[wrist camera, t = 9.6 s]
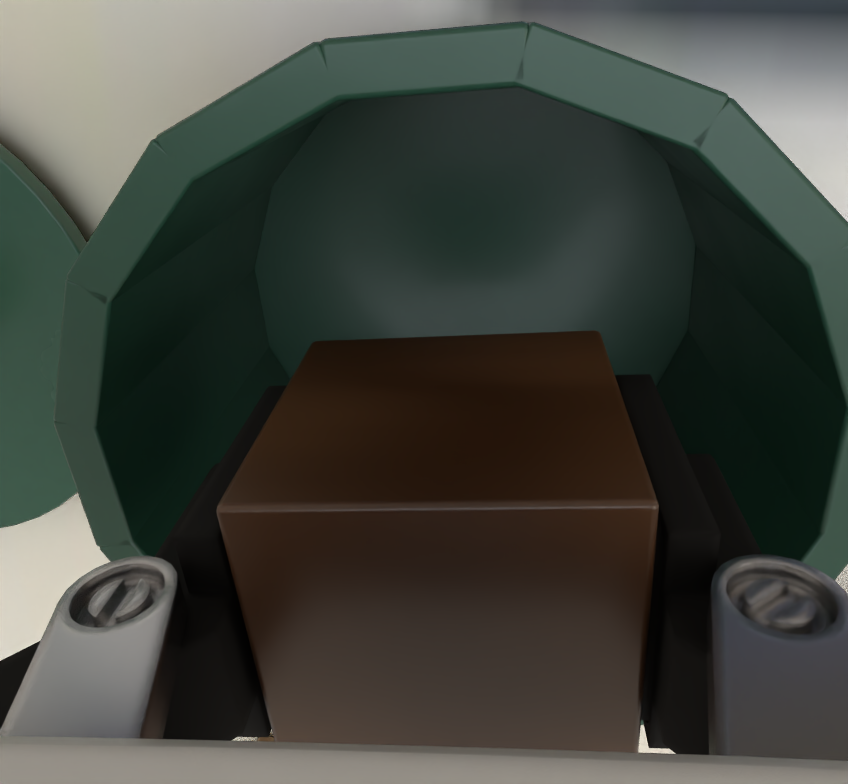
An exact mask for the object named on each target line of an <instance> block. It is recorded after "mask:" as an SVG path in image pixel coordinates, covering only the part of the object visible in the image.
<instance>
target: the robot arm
mask: <svg viewBox="0 0 848 784" xmlns="http://www.w3.org/2000/svg"><path fill="white" fill-rule="evenodd" d="M615 378H616V381H617V383H618V386H619V389H620V392H621V395H622V398H623V401H624V404H625V407H626V410H627V413H628V416H629V419H630V422H631V424H632V427H633V430H634V433H635V436H636V439H637V442H638V445H639V448H640V451H641V454H642V457H643V460H644V463H645V465H646V468H647V471H648V474H649V477H650V480H651V483H652V486H653V489H654V492H655V495H656V498H657V501H658V504H659V513H658V525H657V537H656V548H655V560H654V572H653V584H652V596H651V607H650V619H649V631H648V643H647V655H646V666H645V678H644V690H643V702H642V714H641V721H643V722H644V727H645V732H646V736H647V741H648V746H649V748H669V749H671V750H672V751H673V752H675V753H676V754H661V753H631V752H602V751H573V750H543V749H513V748H479V747H445V746H411V745H376V744H339V743H302V742H266V741H231V740H233V739H234V738H236V737H269V735H270V732H271V725H270V721H269V717H268V713H267V709H266V705H265V701H264V697H263V693H262V689H261V685H260V681H259V678H258V674H257V670H256V666H255V662H254V658H253V654H252V650H251V646H250V642H249V638H248V634H247V630H246V626H245V623H244V619H243V615H242V611H241V607H240V603H239V599H238V595H237V591H236V587H235V583H234V579H233V575H232V572H231V568H230V564H229V560H228V556H227V552H226V548H225V544H224V540H223V536H222V532H221V528H220V524H219V521H218V517H217V506H218V503H219V502H220V500H221V498H222V497H223V495H224V493H225V491H226V490H227V488H228V486H229V485H230V483H231V481H232V479H233V478H234V476H235V474H236V472H237V471H238V469H239V467H240V466H241V464H242V462H243V460H244V459H245V457H246V455H247V454H248V452H249V450H250V448H251V447H252V445H253V443H254V442H255V440H256V438H257V436H258V435H259V433H260V431H261V430H262V428H263V426H264V424H265V423H266V421H267V419H268V418H269V416H270V414H271V412H272V411H273V409H274V407H275V405H276V404H277V402H278V400H279V399H280V397H281V395H282V393H283V392H284V390H285V388H286V387H287V385H285V386H269V387H268V388H267V389H266V390H265V392H264V394H263V395H262V397H261V398H260V400H259V402H258V403H257V405H256V406H255V408H254V409H253V411H252V413H251V414H250V416H249V417H248V419H247V420H246V422H245V424H244V425H243V427H242V428H241V430H240V431H239V433H238V435H237V436H236V438H235V439H234V441H233V443H232V444H231V446H230V447H229V449H228V450H227V452H226V454H225V455H224V457H223V458H222V460H221V461H220V463H217V464H215V465H214V466H213V467H212V468H211V470H210V471H209V473H208V474H207V476H206V477H205V479H204V481H203V482H202V484H201V485H200V487H199V488H198V490H197V491H196V493H195V494H194V496H193V498H192V499H191V501H190V502H189V504H188V505H187V507H186V508H185V510H184V512H183V513H182V515H181V516H180V518H179V519H178V521H177V522H176V524H175V526H174V527H173V529H172V530H171V532H170V533H169V535H168V536H167V538H166V539H165V541H164V543H163V544H162V546H161V547H160V549H159V550H158V552H157V553H156V555H155V557H152V556H133V557H127V558H123V559H119V560H115V561H112V562H109V563H107V564H104V565H102V566H100V567H97V568H95V569H93V570H92V571H90V572H89V573H87V574H85V575H84V576H82V577H81V578H79V579H78V580H77V581H76V582H75V583H74V584H73V585H71V586H70V587H69V588H68V589H67V590H66V591H65V593H64V594H63V596H62V597H61V599H60V600H59V602H58V604H57V606H56V608H55V610H54V613H53V615H52V617H51V619H50V621H49V624H48V626H47V628H46V630H45V632H44V635H43V637H42V639H41V641H39V642H37V643H35V644H33V645H31V646H29V647H27V648H25V649H23V650H21V651H19V652H17V653H15V654H13V655H11V656H9V657H7V658H5V659H3V660H1V661H0V784H848V594H847V593H846V592H845V591H844V590H843V589H842V588H841V587H840V586H839V584H838V583H837V582H836V581H835V580H834V579H832V578H831V577H829V576H827V575H826V574H824V573H823V572H821V571H820V570H818V569H817V568H815V567H812V566H810V565H807V564H805V563H802V562H800V561H797V560H795V559H790V558H786V557H781V556H777V555H764V554H762V553H761V551H760V549H759V547H758V545H757V543H756V541H755V539H754V537H753V535H752V533H751V531H750V529H749V527H748V525H747V523H746V521H745V519H744V517H743V515H742V513H741V511H740V509H739V507H738V505H737V503H736V501H735V499H734V497H733V495H732V493H731V491H730V489H729V487H728V485H727V483H726V481H725V479H724V477H723V475H722V473H721V471H720V469H719V467H718V465H717V463H716V461H715V460H714V458H713V457H712V455H710V454H685V451H684V449H683V447H682V445H681V442H680V440H679V438H678V436H677V433H676V431H675V429H674V427H673V424H672V422H671V420H670V417H669V415H668V413H667V411H666V408H665V406H664V404H663V402H662V399H661V397H660V395H659V393H658V390H657V388H656V386H655V384H654V381H653V379H652V377H651V375H650V374H641V375H615Z"/></svg>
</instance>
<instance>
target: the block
mask: <svg viewBox="0 0 848 784" xmlns="http://www.w3.org/2000/svg"><path fill="white" fill-rule="evenodd" d="M658 513H659V504H658V501H657V498H656V495H655V492H654V489H653V486H652V483H651V480H650V477H649V474H648V471H647V468H646V465H645V463H644V460H643V457H642V454H641V451H640V448H639V445H638V442H637V439H636V436H635V433H634V430H633V427H632V424H631V422H630V419H629V416H628V413H627V410H626V407H625V404H624V401H623V398H622V395H621V392H620V389H619V386H618V383H617V381H616V378H615V375H614V372H613V369H612V366H611V363H610V360H609V357H608V354H607V351H606V348H605V345H604V343H603V340H602V337H601V334H600V332H598V331H595V330H591V331H565V332H539V333H513V334H486V335H460V336H434V337H408V338H382V339H356V340H329V341H315V342H313V343H312V344H311V345H310V347H309V349H308V351H307V352H306V354H305V356H304V357H303V359H302V361H301V363H300V364H299V366H298V368H297V369H296V371H295V373H294V375H293V376H292V378H291V380H290V381H289V383H288V385H287V387H286V388H285V390H284V392H283V393H282V395H281V397H280V399H279V400H278V402H277V404H276V405H275V407H274V409H273V411H272V412H271V414H270V416H269V418H268V419H267V421H266V423H265V424H264V426H263V428H262V430H261V431H260V433H259V435H258V436H257V438H256V440H255V442H254V443H253V445H252V447H251V448H250V450H249V452H248V454H247V455H246V457H245V459H244V460H243V462H242V464H241V466H240V467H239V469H238V471H237V472H236V474H235V476H234V478H233V479H232V481H231V483H230V485H229V486H228V488H227V490H226V491H225V493H224V495H223V497H222V498H221V500H220V502H219V503H218V506H217V517H218V521H219V524H220V528H221V532H222V536H223V540H224V544H225V548H226V552H227V556H228V560H229V564H230V568H231V572H232V575H233V579H234V583H235V587H236V591H237V595H238V599H239V603H240V607H241V611H242V615H243V619H244V623H245V626H246V630H247V634H248V638H249V642H250V646H251V650H252V654H253V658H254V662H255V666H256V670H257V674H258V678H259V681H260V685H261V689H262V693H263V697H264V701H265V705H266V709H267V713H268V717H269V721H270V725H271V729H272V732H273V736H274V740H275V742H302V743H339V744H376V745H411V746H445V747H479V748H513V749H543V750H573V751H602V752H631V753H638V749H639V737H640V725H641V714H642V702H643V690H644V678H645V666H646V655H647V643H648V631H649V619H650V607H651V596H652V584H653V572H654V560H655V548H656V537H657V525H658Z"/></svg>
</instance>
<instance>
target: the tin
mask: <svg viewBox="0 0 848 784" xmlns="http://www.w3.org/2000/svg"><path fill="white" fill-rule="evenodd" d="M591 330H595V331H598V332H600V334H601V337H602V340H603V343H604V345H605V348H606V351H607V354H608V357H609V360H610V363H611V366H612V369H613V372H614V375H641V374H650V375H651V377H652V379H653V381H654V384H655V386H656V388H657V390H658V393H659V395H660V397H661V399H662V402H663V404H664V406H665V408H666V411H667V413H668V415H669V417H670V420H671V422H672V424H673V427H674V429H675V431H676V433H677V436H678V438H679V440H680V442H681V445H682V447H683V449H684V451H685V454H710V455H712V457H713V458H714V460H715V461H716V463H717V465H718V467H719V469H720V471H721V473H722V475H723V477H724V479H725V481H726V483H727V485H728V487H729V489H730V491H731V493H732V495H733V497H734V499H735V501H736V503H737V505H738V507H739V509H740V511H741V513H742V515H743V517H744V519H745V521H746V523H747V525H748V527H749V529H750V531H751V533H752V535H753V537H754V539H755V541H756V543H757V545H758V547H759V549H760V551H761V553H762V554H764V555H777V556H781V557H786V558H790V559H795V560H797V561H800V562H802V563H805V564H807V565H810V566H812V567H815V568H817V569H818V570H820V571H821V572H823V573H824V574H826V575H827V576H829V577H831V578H832V579H834V580H835V579H836V578H837V577H838V575H839V574H840V573H841V572H842V570H843V569H844V568H845V567H846V565H847V564H848V222H847V221H846V220H845V219H844V218H843V217H842V215H841V214H840V213H839V212H838V211H837V210H836V209H835V208H834V207H833V206H832V205H831V204H830V203H829V201H828V200H827V199H826V198H825V197H824V196H823V195H822V194H821V193H820V192H819V191H818V190H817V189H816V187H815V186H814V185H813V184H812V183H811V182H810V181H809V180H808V179H807V178H806V177H805V176H804V174H803V173H802V172H801V171H800V170H799V169H798V168H797V167H796V166H795V165H794V164H793V163H792V162H791V160H790V159H789V158H788V157H787V156H786V155H785V154H784V153H783V152H782V151H781V150H780V149H779V148H778V146H777V145H776V144H775V143H774V142H773V141H772V140H771V139H770V138H769V137H768V136H767V135H766V134H765V132H764V131H763V130H762V129H761V128H760V127H759V126H758V125H757V124H756V123H755V122H754V121H753V120H752V118H751V117H750V116H749V115H748V114H747V113H746V112H745V111H744V110H743V109H742V108H741V107H740V105H739V104H738V103H737V102H736V101H735V100H734V99H732V98H729V97H728V95H727V94H726V93H724V92H721V91H718V90H716V89H713V88H710V87H708V86H705V85H702V84H699V83H697V82H694V81H691V80H689V79H686V78H683V77H681V76H678V75H675V74H673V73H670V72H667V71H664V70H662V69H659V68H656V67H654V66H651V65H648V64H646V63H643V62H640V61H638V60H635V59H632V58H629V57H627V56H624V55H621V54H619V53H616V52H613V51H611V50H608V49H605V48H603V47H600V46H597V45H594V44H592V43H589V42H586V41H584V40H581V39H578V38H576V37H573V36H570V35H567V34H565V33H562V32H559V31H557V30H554V29H551V28H549V27H546V26H543V25H541V24H538V23H535V22H533V23H526V22H523V21H521V22H510V23H499V24H487V25H476V26H464V27H453V28H442V29H430V30H419V31H407V32H396V33H385V34H373V35H362V36H351V37H339V38H328V39H324V40H323V41H321V42H313V43H311V44H310V45H308V46H306V47H305V48H303V49H301V50H300V51H298V52H296V53H294V54H293V55H291V56H289V57H288V58H286V59H284V60H283V61H281V62H279V63H278V64H276V65H274V66H273V67H271V68H269V69H268V70H266V71H264V72H263V73H261V74H259V75H258V76H256V77H254V78H253V79H251V80H249V81H247V82H246V83H244V84H242V85H241V86H239V87H237V88H236V89H234V90H232V91H231V92H229V93H227V94H226V95H224V96H222V97H221V98H219V99H217V100H216V101H214V102H212V103H211V104H209V105H207V106H206V107H204V108H202V109H200V110H199V111H197V112H195V113H194V114H192V115H190V116H189V117H187V118H185V119H184V120H182V121H180V122H179V123H177V124H175V125H174V126H172V127H170V128H169V129H167V130H165V131H164V132H162V133H160V134H159V135H158V136H157V137H156V139H153V140H152V141H151V142H150V143H149V145H148V147H147V148H146V150H145V151H144V153H143V154H142V156H141V158H140V159H139V161H138V162H137V164H136V166H135V167H134V169H133V170H132V172H131V174H130V175H129V177H128V178H127V180H126V182H125V183H124V185H123V186H122V188H121V190H120V191H119V193H118V194H117V196H116V197H115V199H114V201H113V202H112V204H111V205H110V207H109V209H108V210H107V212H106V213H105V215H104V217H103V218H102V220H101V221H100V223H99V225H98V226H97V228H96V229H95V231H94V233H93V234H92V236H91V237H90V239H89V241H88V242H87V244H86V245H85V247H84V248H83V250H82V252H81V253H80V255H79V256H78V258H77V260H76V261H75V263H74V264H73V266H72V268H71V269H70V271H69V272H68V274H67V280H66V282H65V293H64V304H63V315H62V327H61V338H60V350H59V361H58V372H57V384H56V395H55V407H54V420H55V421H54V426H55V429H56V432H57V435H58V438H59V440H60V443H61V446H62V449H63V452H64V454H65V457H66V460H67V463H68V466H69V468H70V471H71V474H72V477H73V480H74V483H75V485H76V488H77V491H78V494H79V497H80V499H81V502H82V505H83V508H84V511H85V513H86V516H87V519H88V522H89V525H90V528H91V530H92V533H93V536H94V539H95V542H96V544H97V546H100V550H101V551H102V552H103V553H104V554H105V556H106V557H107V558H108V559H109V560H110V562H112V561H115V560H119V559H123V558H127V557H133V556H152V557H155V555H156V553H157V552H158V550H159V549H160V547H161V546H162V544H163V543H164V541H165V539H166V538H167V536H168V535H169V533H170V532H171V530H172V529H173V527H174V526H175V524H176V522H177V521H178V519H179V518H180V516H181V515H182V513H183V512H184V510H185V508H186V507H187V505H188V504H189V502H190V501H191V499H192V498H193V496H194V494H195V493H196V491H197V490H198V488H199V487H200V485H201V484H202V482H203V481H204V479H205V477H206V476H207V474H208V473H209V471H210V470H211V468H212V467H213V466H214V465H215V464H217V463H220V461H221V460H222V458H223V457H224V455H225V454H226V452H227V450H228V449H229V447H230V446H231V444H232V443H233V441H234V439H235V438H236V436H237V435H238V433H239V431H240V430H241V428H242V427H243V425H244V424H245V422H246V420H247V419H248V417H249V416H250V414H251V413H252V411H253V409H254V408H255V406H256V405H257V403H258V402H259V400H260V398H261V397H262V395H263V394H264V392H265V390H266V389H267V388H268V387H269V386H285V385H288V383H289V381H290V380H291V378H292V376H293V375H294V373H295V371H296V369H297V368H298V366H299V364H300V363H301V361H302V359H303V357H304V356H305V354H306V352H307V351H308V349H309V347H310V345H311V344H312V343H313V342H315V341H329V340H356V339H382V338H408V337H434V336H460V335H486V334H513V333H539V332H565V331H591ZM641 725H644V722H643V721H641Z"/></svg>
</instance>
